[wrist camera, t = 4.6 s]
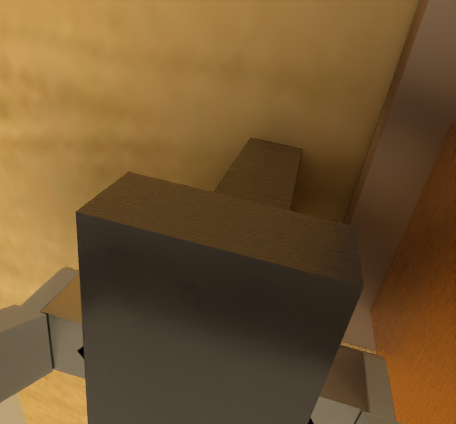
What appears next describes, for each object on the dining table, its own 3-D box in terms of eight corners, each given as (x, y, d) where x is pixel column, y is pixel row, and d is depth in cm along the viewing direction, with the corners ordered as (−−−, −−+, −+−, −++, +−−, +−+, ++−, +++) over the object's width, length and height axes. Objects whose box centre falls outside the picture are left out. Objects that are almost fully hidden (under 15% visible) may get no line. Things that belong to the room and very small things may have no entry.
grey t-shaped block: (228, 96, 17) (75, 211, 7) (341, 119, 16) (363, 286, 6) (208, 233, 20) (89, 445, 10) (301, 257, 19) (272, 509, 9)
